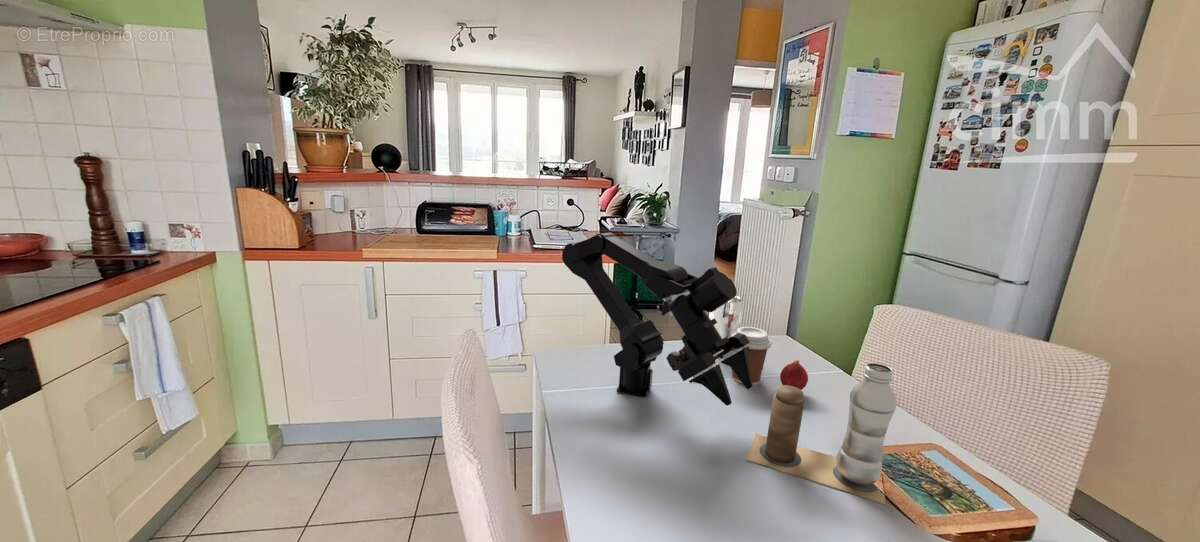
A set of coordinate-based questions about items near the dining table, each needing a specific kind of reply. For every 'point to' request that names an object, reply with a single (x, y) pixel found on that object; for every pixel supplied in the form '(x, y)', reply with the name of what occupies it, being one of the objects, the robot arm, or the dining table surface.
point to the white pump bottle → (728, 317)
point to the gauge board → (813, 469)
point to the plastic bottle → (867, 426)
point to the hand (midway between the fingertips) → (740, 396)
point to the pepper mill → (784, 424)
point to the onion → (794, 375)
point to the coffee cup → (754, 351)
